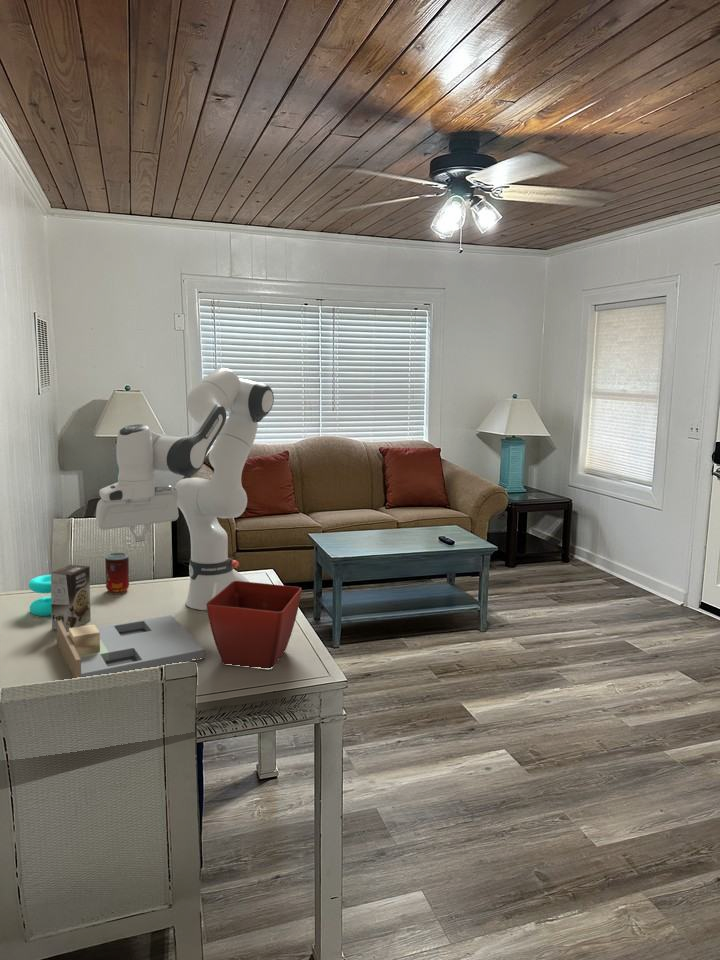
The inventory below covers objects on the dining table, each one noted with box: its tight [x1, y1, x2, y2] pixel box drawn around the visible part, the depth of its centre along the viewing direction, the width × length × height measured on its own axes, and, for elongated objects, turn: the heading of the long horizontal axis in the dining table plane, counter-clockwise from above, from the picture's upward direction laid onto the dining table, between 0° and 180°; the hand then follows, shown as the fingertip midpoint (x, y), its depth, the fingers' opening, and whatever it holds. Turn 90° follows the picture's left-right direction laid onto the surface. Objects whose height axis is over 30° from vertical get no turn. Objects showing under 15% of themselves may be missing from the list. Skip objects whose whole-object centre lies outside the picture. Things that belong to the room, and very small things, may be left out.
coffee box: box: [50, 564, 92, 632], centre depth 185 cm, size 9×6×16 cm
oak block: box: [68, 624, 100, 655], centre depth 164 cm, size 6×6×5 cm
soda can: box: [104, 552, 130, 595], centre depth 214 cm, size 7×7×12 cm
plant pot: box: [206, 581, 302, 668], centre depth 168 cm, size 19×19×17 cm
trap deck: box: [56, 614, 205, 679], centre depth 170 cm, size 30×27×6 cm
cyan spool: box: [28, 574, 52, 617], centre depth 195 cm, size 10×10×10 cm
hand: (139, 541), depth 172 cm, fingers closed
